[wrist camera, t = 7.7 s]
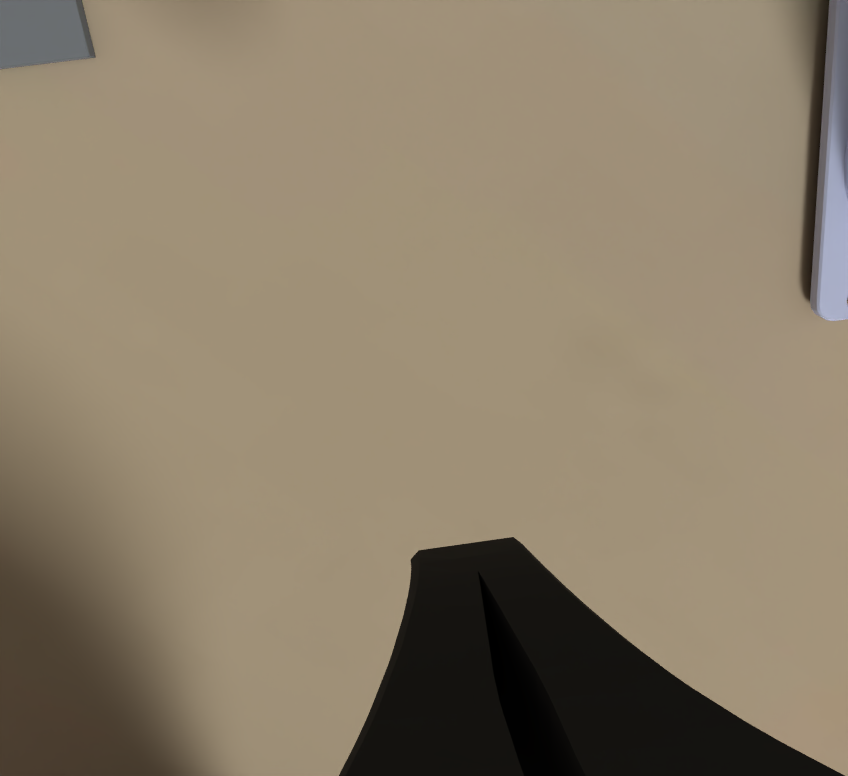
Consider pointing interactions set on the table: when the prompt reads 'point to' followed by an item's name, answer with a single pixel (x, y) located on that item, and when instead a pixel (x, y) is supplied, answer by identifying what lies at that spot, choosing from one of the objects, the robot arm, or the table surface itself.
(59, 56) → the rubber mat
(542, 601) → the robot arm
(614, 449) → the table surface
